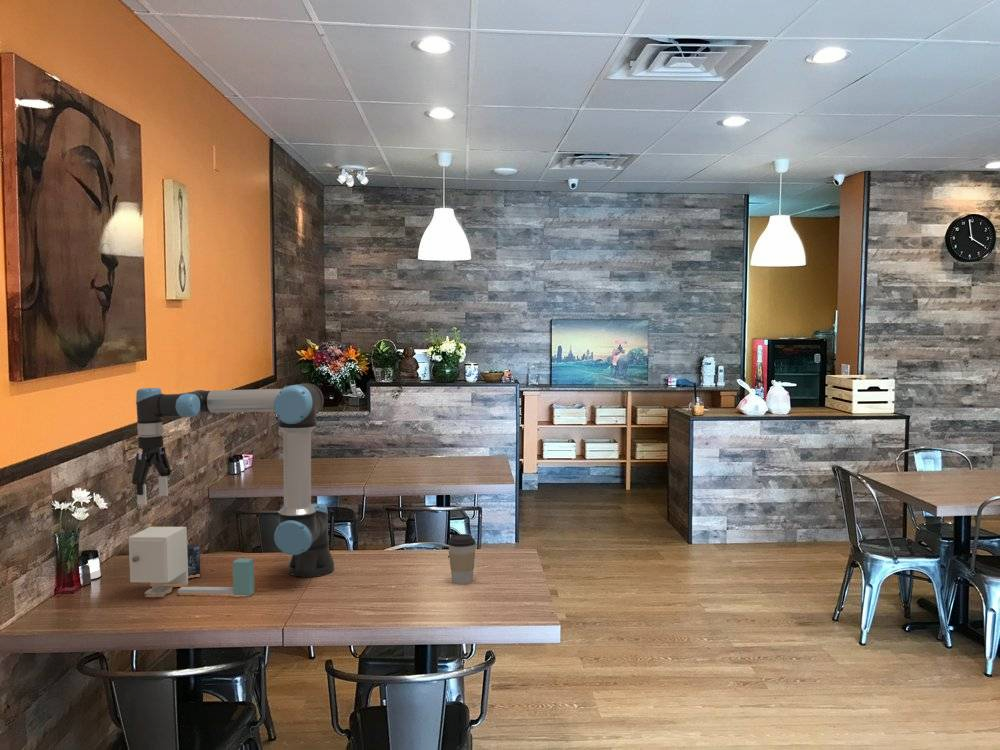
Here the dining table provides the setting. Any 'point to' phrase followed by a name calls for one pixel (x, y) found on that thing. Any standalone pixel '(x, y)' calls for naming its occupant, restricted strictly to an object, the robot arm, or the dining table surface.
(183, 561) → the wall cabinet
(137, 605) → the dining table surface
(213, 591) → the hammer tool
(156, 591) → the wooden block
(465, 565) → the coffee cup
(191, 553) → the box
